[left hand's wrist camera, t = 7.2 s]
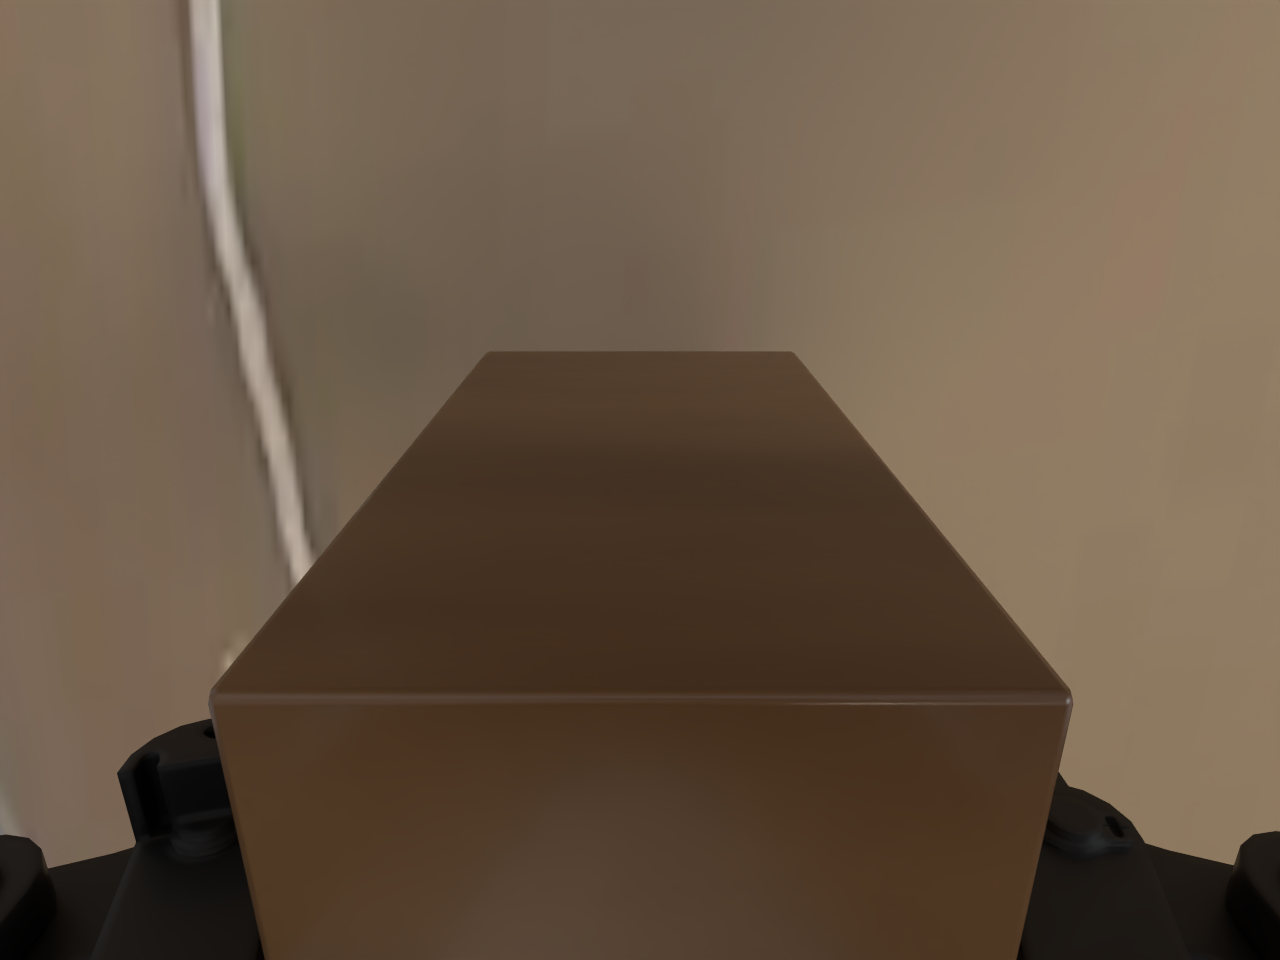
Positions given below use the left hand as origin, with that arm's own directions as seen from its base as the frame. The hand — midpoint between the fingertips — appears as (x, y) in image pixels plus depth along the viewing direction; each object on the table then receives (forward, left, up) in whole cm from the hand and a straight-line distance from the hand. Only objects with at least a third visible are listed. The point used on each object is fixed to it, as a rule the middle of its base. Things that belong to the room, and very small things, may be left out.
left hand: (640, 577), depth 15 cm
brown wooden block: (+8, 0, -1) cm, 8 cm away
